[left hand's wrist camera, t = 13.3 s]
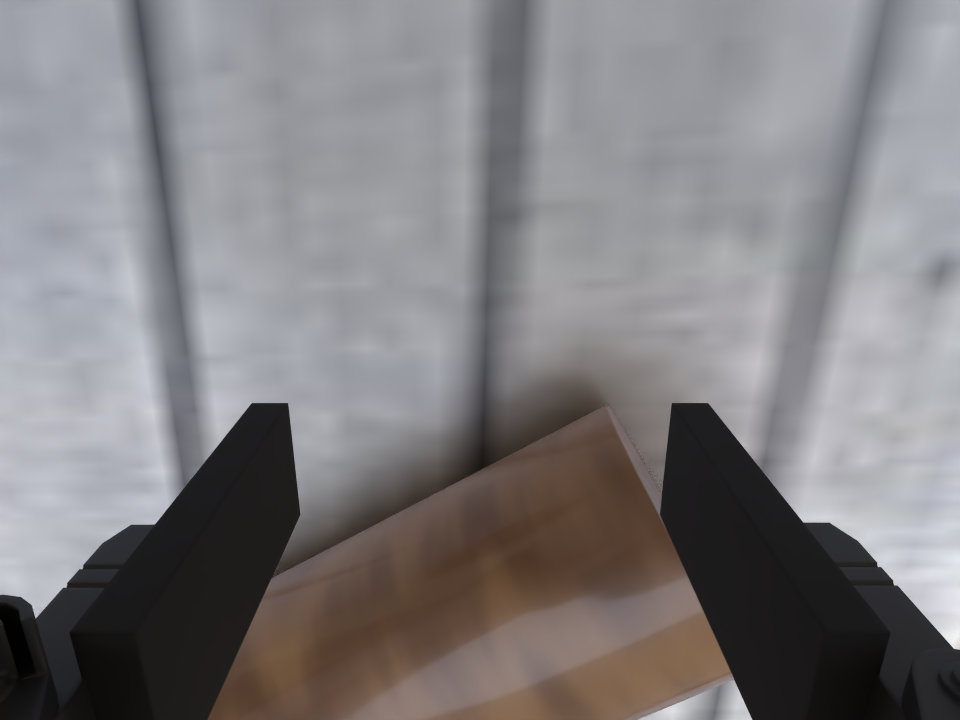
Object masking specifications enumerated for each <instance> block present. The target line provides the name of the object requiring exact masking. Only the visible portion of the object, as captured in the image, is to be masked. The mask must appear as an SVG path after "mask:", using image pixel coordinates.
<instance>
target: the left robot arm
mask: <svg viewBox="0 0 960 720" xmlns="http://www.w3.org/2000/svg"><path fill="white" fill-rule="evenodd" d="M299 516H300V508H299V499H298V490H297V480H296V471H295V462H294V453H293V444H292V435H291V426H290V417H289V407H288V403H252V404H251V405H250V406H249V408H248V409H247V410H246V411H245V413H244V414H243V415H242V416H241V418H240V419H239V420H238V421H237V423H236V424H235V425H234V426H233V428H232V429H231V430H230V431H229V433H228V434H227V435H226V436H225V438H224V439H223V440H222V441H221V443H220V444H219V445H218V446H217V448H216V449H215V450H214V451H213V453H212V454H211V455H210V456H209V458H208V459H207V460H206V462H205V463H204V464H203V465H202V467H201V468H200V469H199V470H198V472H197V473H196V474H195V475H194V477H193V478H192V479H191V480H190V482H189V483H188V484H187V485H186V487H185V488H184V489H183V490H182V492H181V493H180V494H179V495H178V497H177V498H176V499H175V500H174V502H173V503H172V504H171V505H170V507H169V508H168V509H167V510H166V512H165V513H164V514H163V515H162V517H161V518H160V519H159V520H158V522H157V523H156V524H155V525H130V526H129V527H127V528H126V529H124V530H123V531H121V532H119V533H118V534H116V535H115V536H113V537H112V538H110V539H109V540H107V541H106V542H104V543H103V544H102V545H101V546H100V547H99V548H98V549H97V550H96V551H95V553H94V554H93V555H92V556H91V557H90V558H89V559H88V560H87V562H86V563H85V564H84V565H83V569H79V571H78V572H77V573H76V574H75V575H74V576H73V577H72V579H71V580H70V581H69V582H68V583H67V588H63V589H62V590H61V591H60V592H59V593H58V594H57V595H56V597H55V598H54V599H53V600H52V601H51V602H50V603H49V605H48V606H47V607H46V608H45V609H44V610H43V611H42V612H41V614H40V615H39V616H38V617H37V618H36V619H35V615H34V612H33V608H32V605H31V604H29V603H28V602H27V601H25V600H24V599H23V598H21V597H15V596H8V595H0V720H208V718H209V715H210V713H211V711H212V709H213V706H214V704H215V702H216V700H217V698H218V695H219V693H220V691H221V689H222V687H223V684H224V682H225V680H226V678H227V676H228V673H229V671H230V669H231V667H232V664H233V662H234V660H235V658H236V656H237V653H238V651H239V649H240V647H241V645H242V642H243V640H244V638H245V636H246V634H247V631H248V629H249V627H250V625H251V622H252V620H253V618H254V616H255V614H256V611H257V609H258V607H259V605H260V603H261V600H262V598H263V596H264V594H265V592H266V589H267V587H268V585H269V583H270V580H271V578H272V576H273V574H274V572H275V569H276V567H277V565H278V563H279V561H280V558H281V556H282V554H283V552H284V549H285V547H286V545H287V543H288V541H289V538H290V536H291V534H292V532H293V530H294V527H295V525H296V523H297V521H298V519H299ZM660 516H661V519H662V521H663V523H664V525H665V527H666V530H667V532H668V534H669V536H670V538H671V541H672V543H673V545H674V547H675V549H676V552H677V554H678V556H679V558H680V561H681V563H682V565H683V567H684V569H685V572H686V574H687V576H688V578H689V580H690V583H691V585H692V587H693V589H694V592H695V594H696V596H697V598H698V600H699V603H700V605H701V607H702V609H703V611H704V614H705V616H706V618H707V620H708V622H709V625H710V627H711V629H712V631H713V634H714V636H715V638H716V640H717V642H718V645H719V647H720V649H721V651H722V653H723V656H724V658H725V660H726V662H727V664H728V667H729V669H730V671H731V673H732V676H733V678H734V680H735V682H736V684H737V687H738V689H739V691H740V693H741V695H742V698H743V700H744V702H745V704H746V706H747V709H748V711H749V713H750V715H751V718H752V720H960V650H957V649H953V647H952V646H951V645H950V644H949V643H948V642H947V641H946V640H945V638H944V637H943V636H942V635H941V634H940V633H939V632H938V631H937V629H936V628H935V627H934V626H933V625H932V624H931V623H930V622H929V620H928V619H927V618H926V617H925V616H924V615H923V614H922V613H921V611H920V610H919V609H918V608H917V607H916V606H915V605H914V604H913V603H912V601H911V600H910V599H909V598H908V597H907V596H906V595H905V594H904V592H903V591H902V590H901V589H900V588H899V587H898V586H894V584H893V580H892V579H891V578H890V577H889V576H888V574H887V573H886V572H885V571H884V570H883V569H882V568H881V567H878V566H877V562H876V561H875V560H874V559H873V558H872V556H871V555H870V554H869V553H868V552H867V551H866V550H865V549H864V548H863V546H862V545H861V544H860V543H859V542H858V541H857V540H855V539H854V538H852V537H851V536H849V535H847V534H846V533H844V532H843V531H841V530H840V529H838V528H837V527H835V526H833V525H832V524H830V523H803V522H802V520H801V519H800V518H799V517H798V515H797V514H796V513H795V512H794V510H793V509H792V508H791V507H790V505H789V504H788V503H787V502H786V500H785V499H784V498H783V497H782V495H781V494H780V493H779V492H778V490H777V489H776V488H775V487H774V485H773V484H772V483H771V482H770V480H769V479H768V478H767V477H766V475H765V474H764V473H763V472H762V470H761V469H760V468H759V467H758V465H757V464H756V463H755V462H754V460H753V459H752V458H751V456H750V455H749V454H748V453H747V451H746V450H745V449H744V448H743V446H742V445H741V444H740V443H739V441H738V440H737V439H736V438H735V436H734V435H733V434H732V433H731V431H730V430H729V429H728V428H727V426H726V425H725V424H724V423H723V421H722V420H721V419H720V418H719V416H718V415H717V414H716V413H715V411H714V410H713V409H712V408H711V406H710V405H709V404H708V403H672V407H671V417H670V426H669V435H668V444H667V453H666V462H665V471H664V480H663V490H662V499H661V508H660Z"/></svg>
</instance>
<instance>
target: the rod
mask: <svg viewBox="0 0 960 720" xmlns="http://www.w3.org/2000/svg"><path fill="white" fill-rule="evenodd" d="M661 499H662V494H661V492H660V490H659V488H658V486H657V485H656V483H655V481H654V479H653V477H652V476H651V474H650V472H649V470H648V469H647V467H646V465H645V463H644V462H643V460H642V458H641V456H640V455H639V453H638V451H637V449H636V448H635V446H634V444H633V443H632V441H631V439H630V437H629V436H628V434H627V432H626V431H625V429H624V428H623V426H622V424H621V423H620V421H619V420H618V418H617V416H616V415H615V414H614V412H613V411H612V409H611V408H610V407H609V406H608V405H605V406H603V407H601V408H599V409H597V410H595V411H593V412H591V413H589V414H587V415H585V416H583V417H582V418H580V419H578V420H576V421H574V422H572V423H570V424H568V425H566V426H564V427H562V428H560V429H558V430H556V431H555V432H553V433H551V434H549V435H547V436H545V437H543V438H541V439H539V440H537V441H535V442H533V443H531V444H529V445H528V446H526V447H524V448H522V449H520V450H518V451H516V452H514V453H512V454H510V455H508V456H506V457H504V458H502V459H501V460H499V461H497V462H495V463H493V464H491V465H489V466H487V467H485V468H483V469H481V470H479V471H477V472H475V473H474V474H472V475H470V476H468V477H466V478H464V479H462V480H460V481H458V482H456V483H454V484H452V485H450V486H448V487H447V488H445V489H443V490H441V491H439V492H437V493H435V494H433V495H431V496H429V497H427V498H425V499H423V500H421V501H420V502H418V503H416V504H414V505H412V506H410V507H408V508H406V509H404V510H402V511H400V512H398V513H396V514H394V515H393V516H391V517H389V518H387V519H385V520H383V521H381V522H379V523H377V524H375V525H373V526H371V527H369V528H367V529H366V530H364V531H362V532H360V533H358V534H356V535H354V536H352V537H350V538H348V539H346V540H344V541H342V542H340V543H339V544H337V545H335V546H333V547H331V548H329V549H327V550H325V551H323V552H321V553H319V554H317V555H315V556H313V557H312V558H310V559H308V560H306V561H304V562H302V563H300V564H298V565H296V566H294V567H292V568H290V569H288V570H286V571H285V572H283V573H281V574H279V575H277V576H275V577H273V578H271V580H270V583H269V585H268V587H267V589H266V592H265V594H264V596H263V598H262V600H261V603H260V605H259V607H258V609H257V611H256V614H255V616H254V618H253V620H252V622H251V625H250V627H249V629H248V631H247V634H246V636H245V638H244V640H243V642H242V645H241V647H240V649H239V651H238V653H237V656H236V658H235V660H234V662H233V664H232V667H231V669H230V671H229V673H228V676H227V678H226V680H225V682H224V684H223V687H222V689H221V691H220V693H219V695H218V698H217V700H216V702H215V704H214V706H213V709H212V711H211V713H210V715H209V718H208V720H638V719H640V718H643V717H645V716H648V715H650V714H652V713H655V712H657V711H659V710H662V709H664V708H667V707H669V706H671V705H674V704H676V703H679V702H681V701H683V700H686V699H688V698H690V697H693V696H695V695H698V694H700V693H702V692H705V691H707V690H710V689H712V688H714V687H717V686H719V685H721V684H724V683H726V682H729V681H731V680H733V679H734V678H733V676H732V673H731V671H730V669H729V667H728V664H727V662H726V660H725V658H724V656H723V653H722V651H721V649H720V647H719V645H718V642H717V640H716V638H715V636H714V634H713V631H712V629H711V627H710V625H709V622H708V620H707V618H706V616H705V614H704V611H703V609H702V607H701V605H700V603H699V600H698V598H697V596H696V594H695V592H694V589H693V587H692V585H691V583H690V580H689V578H688V576H687V574H686V572H685V569H684V567H683V565H682V563H681V561H680V558H679V556H678V554H677V552H676V549H675V547H674V545H673V543H672V541H671V538H670V536H669V534H668V532H667V530H666V527H665V525H664V523H663V521H662V519H661V516H660V508H661Z"/></svg>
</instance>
